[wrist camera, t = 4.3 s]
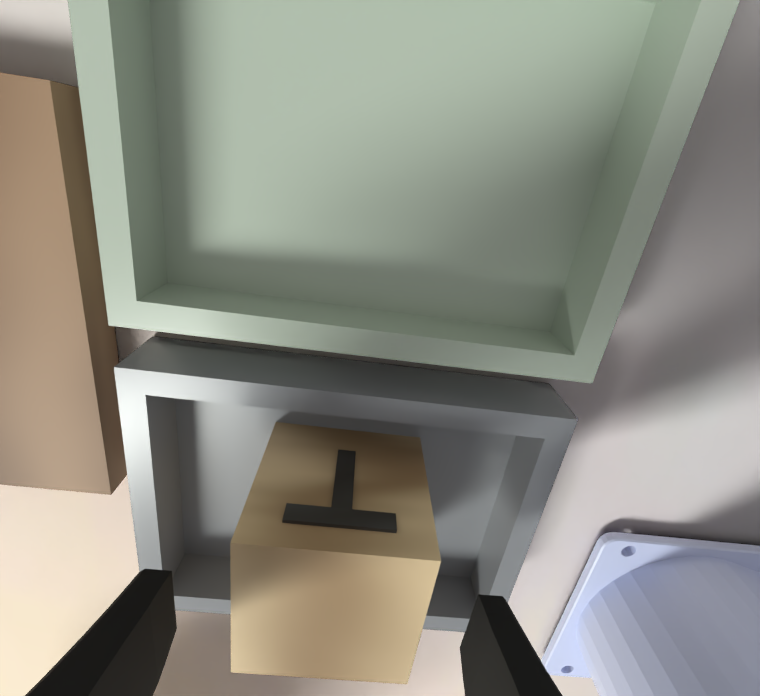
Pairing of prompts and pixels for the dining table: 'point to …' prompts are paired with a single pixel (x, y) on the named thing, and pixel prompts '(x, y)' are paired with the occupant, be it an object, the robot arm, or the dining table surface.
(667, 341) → the dining table surface
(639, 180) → the sage tray
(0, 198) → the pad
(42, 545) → the dining table surface
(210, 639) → the dining table surface
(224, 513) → the gray tray
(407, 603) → the letter cube
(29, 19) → the dining table surface
